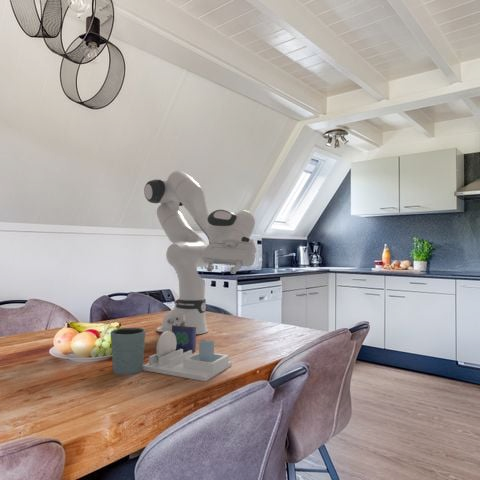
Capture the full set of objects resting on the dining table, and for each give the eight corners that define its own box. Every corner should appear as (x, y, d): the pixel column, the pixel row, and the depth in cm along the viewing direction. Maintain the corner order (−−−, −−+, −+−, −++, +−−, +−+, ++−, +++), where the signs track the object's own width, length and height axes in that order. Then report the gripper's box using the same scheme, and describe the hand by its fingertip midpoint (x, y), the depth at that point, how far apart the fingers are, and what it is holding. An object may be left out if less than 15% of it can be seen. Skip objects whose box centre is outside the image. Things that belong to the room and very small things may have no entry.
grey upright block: (195, 366, 116) (195, 342, 116) (203, 362, 120) (203, 338, 120) (209, 368, 114) (209, 344, 114) (216, 364, 118) (217, 340, 118)
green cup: (125, 379, 109) (126, 336, 109) (102, 372, 114) (102, 331, 115) (152, 369, 118) (152, 329, 118) (128, 363, 123) (129, 325, 123)
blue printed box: (196, 350, 138) (197, 320, 139) (193, 353, 136) (193, 322, 136) (173, 348, 141) (173, 319, 141) (169, 350, 138) (169, 320, 138)
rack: (141, 369, 116) (142, 335, 116) (172, 356, 131) (173, 326, 131) (205, 381, 107) (206, 343, 107) (231, 365, 121) (231, 332, 122)
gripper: (207, 236, 149) (192, 263, 140) (256, 239, 140) (243, 267, 132) (212, 248, 153) (198, 274, 144) (260, 251, 144) (248, 279, 136)
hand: (220, 271), depth 138 cm, fingers open, 8 cm apart
